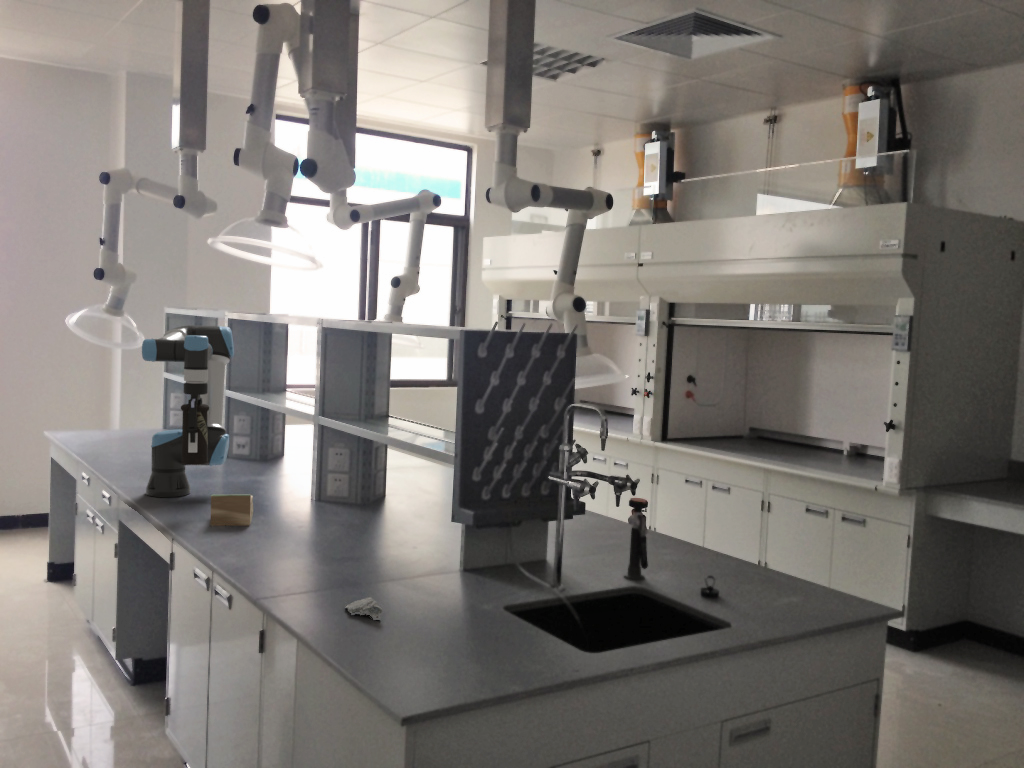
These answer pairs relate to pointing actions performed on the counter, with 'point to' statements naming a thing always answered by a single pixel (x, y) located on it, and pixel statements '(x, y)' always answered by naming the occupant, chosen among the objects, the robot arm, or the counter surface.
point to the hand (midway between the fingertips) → (194, 450)
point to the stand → (231, 509)
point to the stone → (365, 607)
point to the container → (202, 431)
